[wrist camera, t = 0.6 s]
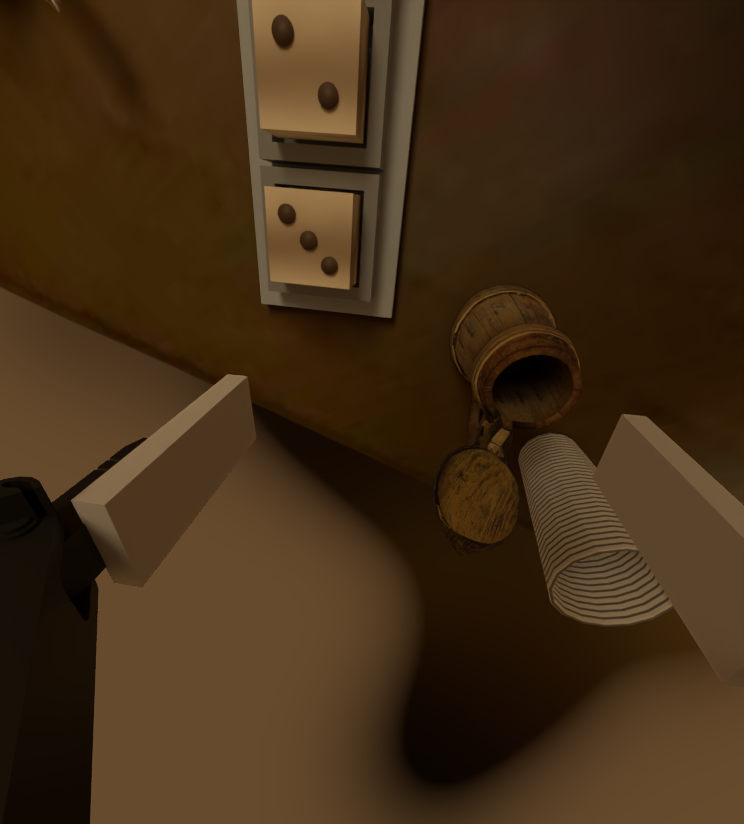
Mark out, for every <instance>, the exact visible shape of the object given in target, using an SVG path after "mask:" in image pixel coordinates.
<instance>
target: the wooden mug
mask: <svg viewBox="0 0 744 824" xmlns="http://www.w3.org/2000/svg"><path fill="white" fill-rule="evenodd" d="M449 345H450V352H451V357H452V359H453V360H454V362H455V364H456V366H457V367H458V369H459V371H460V373H461V374H462V375H463V376H464V377H465V378H466V380H467V381H468V382H470V383H471V387H472V393H473V396H472V404H471V409H470V415H469V420H468V427H467V446H464V447H461V448H459V449H457V450H455V451H453V452H451V453H449V454H448V455H447V457H446V458H445V460H444V461H443V462H442V464H441V466H440V468H439V470H438V472H437V475H436V479H435V483H434V490H433V498H434V508H435V512H436V515H437V519H438V521H439V524H440V526H441V528H442V530H443V532H444V533H445V535H446V537H447V538H448V540H449V542H450V543H451V545H452V546H453V548H454V549H455V550H456V551H457V553H458V554H459V555H465V554H472V553H478V552H481V551H484V550H488V549H491V548H493V547H495V546H497V545H500V544H501V543H502V542H504V541H505V540H506V539H507V538H508V537H509V536H510V534H511V532H512V530H513V528H514V526H515V524H516V521H517V516H518V511H519V503H520V497H519V489H518V484H517V481H516V478H515V476H514V474H513V471H512V469H511V467H510V465H509V462H508V460H507V458H508V454H509V449H510V445H511V443H512V440H513V438H514V436H513V435H512V434H510V433H511V432H512V428H513V427H515V428H523V429H536V428H543V427H546V426H548V425H551V424H553V423H555V422H557V421H558V420H559V419H561V418H562V417H563V416H565V415H566V414H567V413H568V412H569V411H570V410H571V409H572V408H573V407H574V405H575V404H576V402H577V400H578V398H579V397H580V395H581V393H582V384H583V383H582V376H581V370H580V364H579V359H578V356H577V353H576V351H575V349H574V347H573V345H572V342H571V340H570V339H569V338H568V337H567V336H565V335H564V334H563V333H562V332H561V331H559V330H557V329H556V326H555V321H554V318H553V315H552V314H551V312H550V310H549V308H548V307H547V305H546V303H545V302H544V301H543V300H542V299H541V298H540V297H539V296H538V295H537V294H535V293H534V292H532V291H530V290H529V289H527V288H524V287H519V286H515V285H497V286H494V287H491V288H487V289H484V290H482V291H480V292H479V293H477V294H475V295H474V296H472V297H471V298H470V299H469V300H468V301H467V302H466V303H465V304H464V305H463V306H462V307H461V309H460V311H459V313H458V314H457V316H456V318H455V319H454V322H453V325H452V328H451V332H450V339H449ZM485 416H487V417H489V419H488V420H487V419H485Z"/></svg>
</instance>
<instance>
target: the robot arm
mask: <svg viewBox="0 0 744 824" xmlns="http://www.w3.org/2000/svg"><path fill="white" fill-rule="evenodd" d="M255 439H256V432H255V426H254V419H253V412H252V405H251V398H250V391H249V385H248V378H247V376H239V375H229V374H228V375H226V376H225V377H224V378H223V379H221V380H220V381H219V382H218V383H216V384H215V385H214V386H213V387H211V388H210V389H209V390H208V391H206V392H205V393H204V394H203V395H201V396H200V397H199V398H198V399H196V400H195V401H194V402H193V403H191V404H190V405H189V406H188V407H187V408H185V409H184V410H183V411H181V412H180V413H179V414H178V415H176V416H175V417H174V418H173V419H171V420H170V421H169V422H168V423H166V425H164V426H163V427H162V428H160V429H159V430H158V431H157V432H155V433H154V434H153V435H152V436H150V437H149V438H142V439H140V440H138V441H136V442H134V443H132V444H129V445H127V446H125V447H124V448H122V449H121V450H120V451H119V452H117V453H116V454H115V455H113V456H112V457H111V458H110V460H109V461H108V460H107V461H106V462H104V463H103V464H102V465H100V466H99V467H98V469H97V470H94V471H93V472H91V473H90V474H89V475H87V476H86V477H85V478H84V479H82V480H81V481H80V482H78V483H77V484H76V485H74V486H73V487H72V488H70V489H69V490H68V491H67V492H65V493H64V494H63V495H61V496H60V497H59V498H58V499H56V500H55V501H54V502H52V503H51V501H50V499H49V498H48V496H47V494H46V492H45V490H44V489H43V487H42V485H41V483H40V482H39V481H38V480H37V479H34V478H33V477H14V478H8V479H3V480H0V824H90V805H91V804H90V803H91V778H92V749H93V722H94V696H95V695H94V694H95V669H96V641H97V613H98V587H97V583H96V581H95V578H96V577H97V576H98V575H99V574H100V573H101V572H102V571H103V570H104V569H105V567H106V568H107V570H108V572H109V574H110V576H111V578H112V580H113V582H114V583H119V584H125V585H132V586H137V587H143V586H144V585H145V583H146V582H147V581H148V579H149V578H150V577H151V575H152V574H153V573H154V571H155V570H156V569H157V567H158V566H159V565H160V564H161V562H162V561H163V560H164V558H165V557H166V556H167V554H168V553H169V552H170V550H171V549H172V548H173V547H174V545H175V544H176V543H177V541H178V540H179V539H180V537H181V536H182V535H183V533H184V532H185V531H186V530H187V528H188V527H189V526H190V524H191V523H192V522H193V520H194V519H195V518H196V516H197V515H198V514H199V512H200V511H201V510H202V509H203V507H204V506H205V505H206V503H207V502H208V501H209V499H210V498H211V497H212V495H213V494H214V493H215V491H216V490H217V489H218V488H219V486H220V485H221V484H222V482H223V481H224V480H225V478H226V477H227V476H228V474H229V473H230V472H231V471H232V469H233V468H234V467H235V465H236V464H237V463H238V461H239V460H240V459H241V457H242V456H243V455H244V453H245V452H246V451H247V450H248V448H249V447H250V446H251V444H252V443H253V442H254V440H255ZM592 478H593V479H594V481H595V483H596V484H597V486H598V487H599V489H600V490H601V492H602V494H603V495H604V497H605V498H606V500H607V502H608V503H609V505H610V506H611V508H612V509H613V511H614V513H615V514H616V516H617V517H618V519H619V521H620V522H621V524H622V525H623V527H624V529H625V530H626V532H627V533H628V535H629V536H630V538H631V540H632V541H633V543H634V544H635V546H636V548H637V549H638V551H639V552H640V554H641V555H642V557H643V559H644V560H645V562H646V563H647V565H648V567H649V568H650V570H651V571H652V573H653V574H654V576H655V578H656V579H657V581H658V582H659V584H660V586H661V587H662V589H663V590H664V592H665V594H666V595H667V597H668V598H669V600H670V601H671V603H672V605H673V606H674V608H675V609H676V611H677V612H678V614H679V616H680V617H681V619H682V620H683V622H684V624H685V625H686V627H687V628H688V630H689V632H690V633H691V635H692V636H693V638H694V639H695V641H696V643H697V644H698V646H699V647H700V649H701V651H702V652H703V654H704V655H705V657H706V658H707V660H708V662H709V663H710V665H711V666H712V668H713V670H714V671H715V673H716V674H717V676H718V677H719V679H720V681H721V682H722V683H723V684H729V685H735V686H741V687H744V505H742V504H741V503H740V502H739V501H738V500H737V499H736V498H735V497H734V496H733V495H732V494H730V493H729V492H728V491H727V490H726V489H725V488H724V487H723V486H722V485H721V484H720V483H718V482H717V481H716V480H715V479H714V478H713V477H712V476H711V475H710V474H709V473H708V472H706V471H705V470H704V469H703V468H702V467H701V466H700V465H699V464H698V463H697V462H696V461H694V460H693V459H692V458H691V457H690V456H689V455H688V454H687V453H686V452H685V451H684V450H682V449H681V448H680V447H679V446H678V445H677V444H676V443H675V442H674V441H673V440H672V439H670V438H669V437H668V436H667V435H666V434H665V433H664V432H663V431H662V430H661V429H660V428H658V427H657V426H656V425H655V424H654V423H653V422H652V421H651V420H650V419H649V418H648V417H646V416H638V415H628V414H622V415H621V417H620V419H619V421H618V423H617V426H616V428H615V430H614V432H613V434H612V436H611V438H610V441H609V443H608V445H607V447H606V449H605V451H604V453H603V456H602V458H601V460H600V462H599V464H598V466H597V468H596V471H595V473H594V475H593V477H592Z"/></svg>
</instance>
